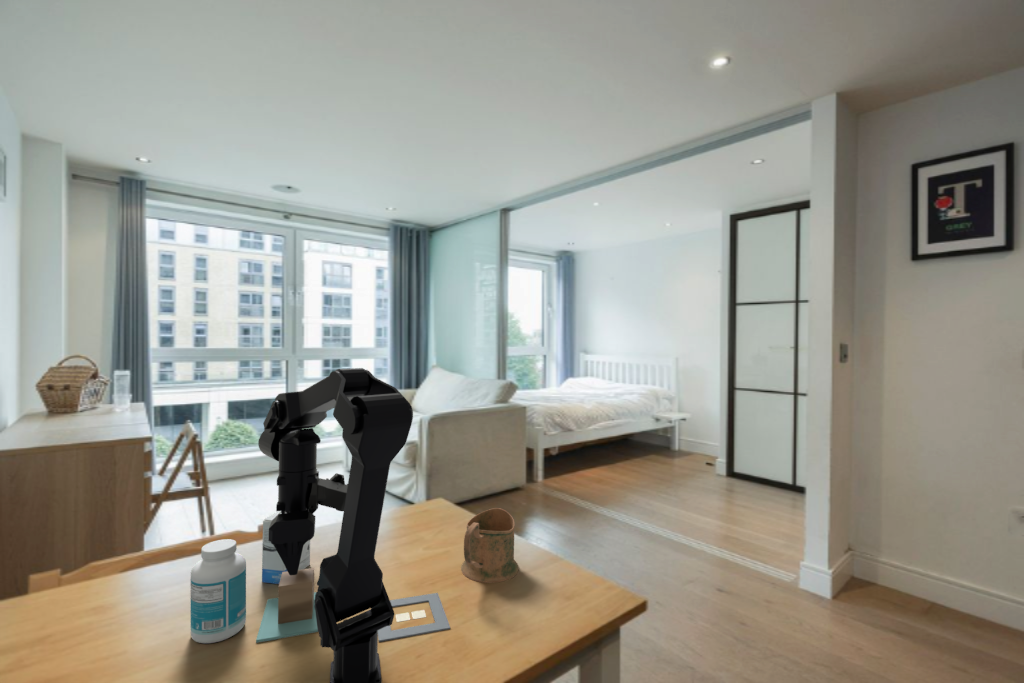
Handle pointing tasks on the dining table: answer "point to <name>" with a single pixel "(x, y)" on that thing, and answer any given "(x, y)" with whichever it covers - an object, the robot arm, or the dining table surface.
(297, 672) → the dining table surface
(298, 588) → the block
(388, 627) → the frame
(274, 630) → the mat
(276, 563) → the ink box
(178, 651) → the dining table surface
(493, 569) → the mug
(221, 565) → the pill bottle
